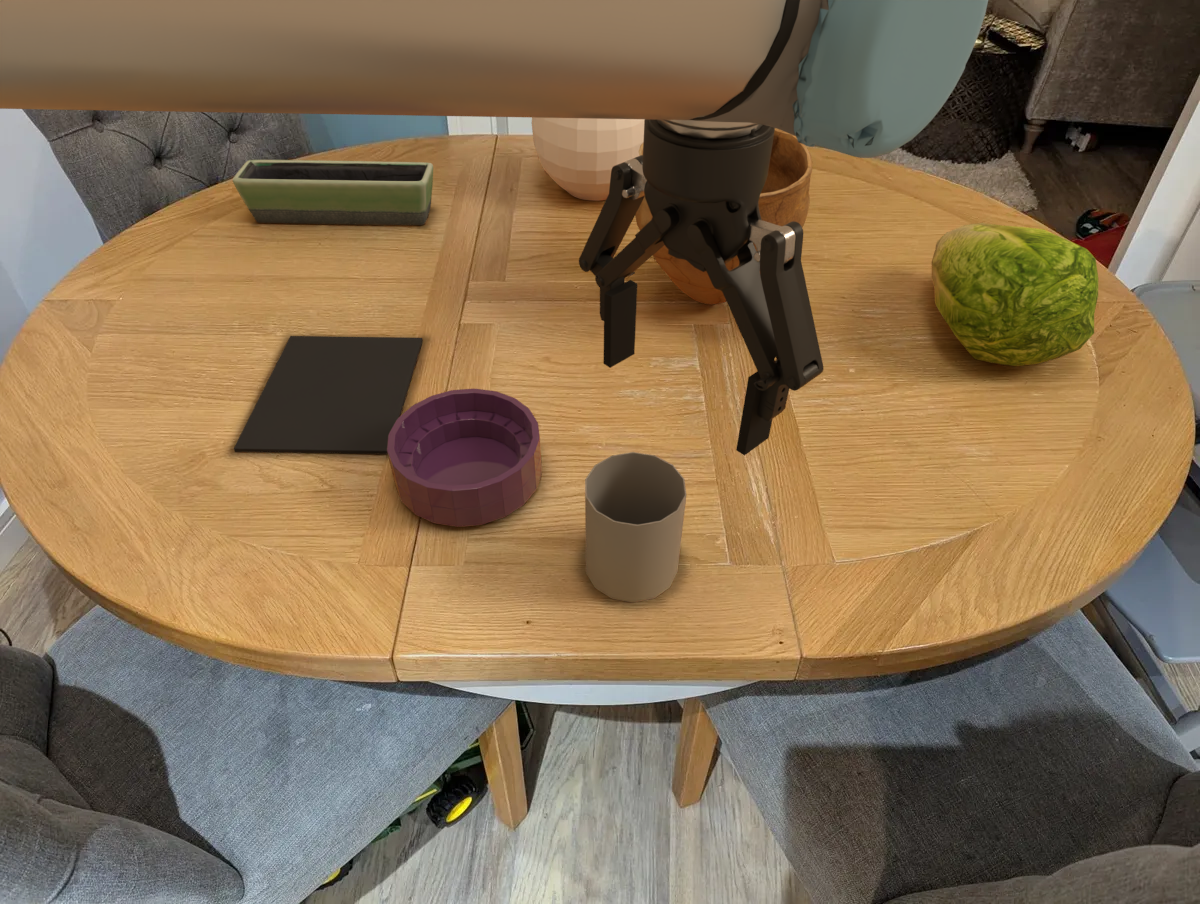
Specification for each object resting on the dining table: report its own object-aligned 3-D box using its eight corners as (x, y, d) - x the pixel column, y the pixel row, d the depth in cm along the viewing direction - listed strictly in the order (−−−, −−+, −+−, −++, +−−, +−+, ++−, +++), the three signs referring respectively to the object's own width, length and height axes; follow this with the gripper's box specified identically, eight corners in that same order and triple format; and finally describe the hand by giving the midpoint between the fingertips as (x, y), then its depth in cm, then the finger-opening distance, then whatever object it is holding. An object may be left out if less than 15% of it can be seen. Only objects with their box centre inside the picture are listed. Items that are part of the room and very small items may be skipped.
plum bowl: (453, 555, 74) (445, 514, 70) (369, 473, 81) (358, 433, 77) (570, 479, 81) (569, 438, 77) (483, 410, 88) (478, 370, 85)
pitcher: (522, 170, 133) (512, 2, 115) (628, 157, 137) (634, -8, 119) (552, 223, 120) (545, 42, 102) (668, 206, 124) (680, 29, 107)
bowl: (804, 346, 98) (839, 189, 84) (637, 350, 97) (645, 192, 83) (769, 258, 113) (794, 113, 99) (625, 261, 112) (629, 115, 98)
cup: (680, 602, 70) (690, 525, 63) (585, 602, 70) (585, 526, 63) (672, 528, 76) (680, 451, 69) (585, 529, 76) (585, 452, 69)
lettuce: (1007, 279, 111) (1023, 175, 102) (1116, 369, 91) (1148, 251, 82) (884, 303, 111) (890, 202, 102) (968, 398, 91) (983, 283, 83)
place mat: (389, 454, 83) (388, 450, 83) (234, 452, 83) (233, 448, 83) (422, 341, 98) (422, 337, 98) (291, 339, 98) (290, 335, 98)
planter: (440, 207, 123) (434, 161, 118) (432, 230, 118) (425, 183, 113) (260, 204, 123) (246, 158, 118) (244, 227, 118) (229, 180, 113)
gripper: (941, 163, 41) (850, 460, 56) (607, 46, 55) (604, 311, 69) (858, 208, 38) (784, 514, 52) (521, 72, 51) (537, 346, 65)
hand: (681, 399), depth 61 cm, fingers open, 13 cm apart
